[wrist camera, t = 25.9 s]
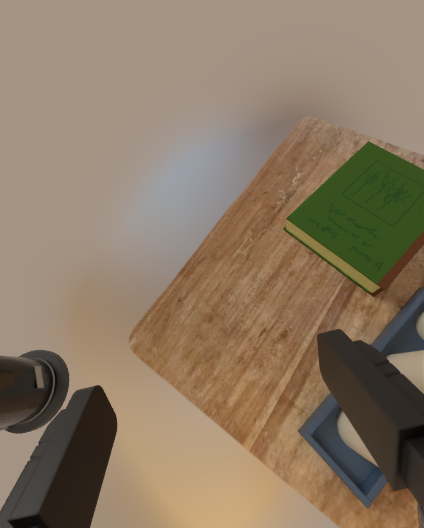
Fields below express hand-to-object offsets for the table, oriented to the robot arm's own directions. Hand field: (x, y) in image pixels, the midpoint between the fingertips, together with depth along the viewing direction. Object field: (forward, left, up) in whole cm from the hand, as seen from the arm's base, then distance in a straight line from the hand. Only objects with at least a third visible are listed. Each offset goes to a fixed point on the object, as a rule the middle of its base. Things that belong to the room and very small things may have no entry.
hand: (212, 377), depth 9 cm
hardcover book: (+37, +3, -33) cm, 50 cm away
